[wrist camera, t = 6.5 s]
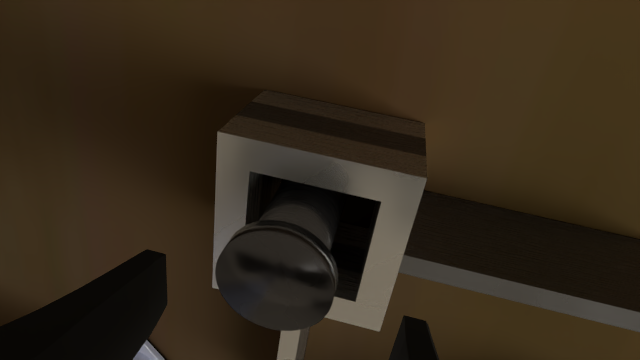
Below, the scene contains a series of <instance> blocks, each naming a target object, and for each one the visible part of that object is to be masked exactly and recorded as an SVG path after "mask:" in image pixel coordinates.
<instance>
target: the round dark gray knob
mask: <svg viewBox="0 0 640 360" xmlns="http://www.w3.org/2000/svg"><path fill="white" fill-rule="evenodd" d="M346 196H347V194H346V193H342V192H337V191H333V190H329V189H325V188H320V187H316V186H312V185H307V184H303V183H299V182H294V181H290V180H286V179H283V181H282V183H281V184H280V186H279V188H278V189H277V191H276V193H275V194H274V196H273V198H272V199H271V201H270V203H269V205H268V206H267V208H266V210H265V211H264V213H263V215H262V216H261V218H260V220H259V221H256V222H253V223H250V224H247V225H245V226H243V227H242V228H240V229H239V230H238V231H236V233H235V234H234V235H233V236H232V237H231V239H230V240H229V242H228V243H227V245H226V246H225V248H224V249H223V251H222V252H221V254H220V255H219V258H218V260H217V263H216V269H215V276H216V282H217V285H218V288H219V290H220V292H221V294H222V296H223V297H224V299H225V300H226V302H227V303H228V304H229V305H230V306H231V307H232V308H233V309H234V310H235V311H236V312H237V313H238V314H240V315H241V316H242V317H244V318H246V319H247V320H249V321H251V322H253V323H255V324H257V325H260V326H262V327H265V328H269V329H274V330H280V331H295V330H301V329H305V328H308V327H311V326H313V325H315V324H317V323H318V322H319V321H321V320H322V319H323V318H324V317H325V316H326V315H327V313H328V312H329V310H330V308H331V306H332V303H333V299H334V295H335V291H336V286H337V282H338V269H337V265H336V262H335V260H334V257H333V255H332V254H331V252H330V251H331V248H332V244H333V241H334V237H335V234H336V230H337V227H338V223H339V220H340V217H341V213H342V210H343V206H344V203H345V199H346Z"/></svg>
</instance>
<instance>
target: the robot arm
mask: <svg viewBox="0 0 640 360" xmlns="http://www.w3.org/2000/svg"><path fill="white" fill-rule="evenodd" d="M166 306H167V277H166V254H163V253H159V252H155V251H151V250H145V251H143V252H141V253H140V254H138V255H136V256H134V257H133V258H131V259H129V260H128V261H126V262H124V263H122V264H121V265H119V266H117V267H116V268H114V269H112V270H111V271H109V272H107V273H105V274H104V275H102V276H100V277H98V278H97V279H95V280H93V281H91V282H90V283H88V284H86V285H84V286H83V287H81V288H79V289H77V290H75V291H73V292H71V293H69V294H68V295H66V296H64V297H62V298H60V299H58V300H56V301H54V302H52V303H50V304H48V305H46V306H44V307H42V308H40V309H38V310H36V311H34V312H32V313H30V314H28V315H26V316H23V317H21V318H19V319H17V320H14V321H12V322H10V323H7V324H5V325H3V326H0V360H165V359H164V358H163V357H162V356H161V355H160V354H159V352H158V351H157V350H156V349H155V348H154V347H153V346H152V345H151V344H150V343H149V342H148V341H147V339H148V337H149V336H150V335H151V333H152V331H153V329H154V328H155V326H156V324H157V322H158V321H159V319H160V317H161V315H162V313H163V311H164V309H165V308H166ZM389 360H439V358H438V355H437V352H436V349H435V346H434V343H433V340H432V337H431V333H430V330H429V326H428V324H427V322H426V321H424V320H420V319H416V318H412V317H408V316H404V317H403V320H402V323H401V325H400V328H399V331H398V334H397V337H396V340H395V343H394V346H393V349H392V352H391V355H390V358H389Z"/></svg>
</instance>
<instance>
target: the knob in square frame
mask: <svg viewBox="0 0 640 360" xmlns="http://www.w3.org/2000/svg"><path fill="white" fill-rule="evenodd" d="M281 179H286V180H290V181H294V182H299V183H303V184H307V185H312V186H316V187H320V188H325V189H329V190H333V191H337V192H342V193H346V194H350V195H355V196H359V197H363V198H368V199H372V200H376V201H375V205H374V209H373V213H372V217H371V221H370V225H369V228H365V227H361V226H356V225H352V224H348V223H344V222H340V221H339V223H338V227H337V230H336V234H335V237H334V241H333V244H332V248H331V251H330V252H331V254H332V255H333V257H334V260H335V262H336V265H337V269H338V282H337V286H336V291H335V295H334V299H333V303H332V306H331V308H330V310H329V312H328V313H327V315H326V316H325V317H326V318H330V319H333V320H337V321H341V322H345V323H349V324H352V325H356V326H360V327H364V328H368V329H371V330H375V331H379V332H380V329H381V326H382V322H383V319H384V316H385V313H386V310H387V306H388V303H389V300H390V297H391V293H392V290H393V287H394V284H395V281H396V277H397V274H398V272H399V273H403V274H407V275H411V276H415V277H419V278H423V279H428V280H432V281H436V282H440V283H444V284H448V285H452V286H456V287H460V288H464V289H468V290H472V291H476V292H480V293H484V294H488V295H492V296H496V297H500V298H504V299H508V300H512V301H516V302H520V303H524V304H528V305H532V306H536V307H540V308H544V309H548V310H552V311H556V312H561V313H565V314H569V315H573V316H577V317H581V318H585V319H589V320H593V321H597V322H601V323H605V324H609V325H613V326H617V327H621V328H625V329H629V330H633V331H637V332H640V239H635V238H631V237H627V236H622V235H618V234H613V233H609V232H604V231H600V230H596V229H591V228H587V227H582V226H578V225H574V224H569V223H565V222H560V221H556V220H552V219H547V218H543V217H538V216H534V215H530V214H525V213H521V212H516V211H512V210H507V209H503V208H499V207H494V206H490V205H485V204H481V203H477V202H472V201H468V200H463V199H459V198H455V197H450V196H446V195H441V194H437V193H433V192H428V191H424V187H425V184H426V181H427V164H426V140H425V123H421V122H416V121H411V120H406V119H402V118H397V117H392V116H387V115H383V114H378V113H373V112H368V111H364V110H359V109H354V108H349V107H345V106H340V105H335V104H330V103H326V102H321V101H316V100H311V99H307V98H302V97H297V96H292V95H288V94H283V93H278V92H273V91H269V90H264V91H263V92H262V93H261V94H259V95H258V96H257V97H256V98H255V99H254V100H253V101H252V102H250V103H249V104H248V105H247V106H246V107H245V108H244V109H242V110H241V111H240V112H239V113H238V114H237V115H236V116H235V117H233V118H232V119H231V120H230V121H229V122H228V123H227V124H226V125H224V126H223V127H222V128H221V129H220V130H219V131H218V132H217V160H216V191H215V221H214V251H213V281H212V288H216V289H219V288H218V285H217V282H216V276H215V269H216V263H217V260H218V258H219V255H220V254H221V252H222V251H223V249H224V248H225V246H226V245H227V243H228V242H229V240H230V239H231V237H232V236H233V235H234V234H235V233H236V231H238V230H239V229H240V228H242V227H243V226H245V225H247V224H250V223H253V222H256V221H259V220H260V218H261V216H262V215H263V213H264V211H265V210H266V208H267V206H268V205H269V203H270V201H271V199H272V198H273V196H274V194H275V193H276V191H277V189H278V188H279V186H280V184H281ZM309 329H310V327H308V328H305V329H301V330H295V331H281V335H280V342H279V348H278V355H277V360H304V355H305V350H306V344H307V339H308V334H309Z"/></svg>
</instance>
